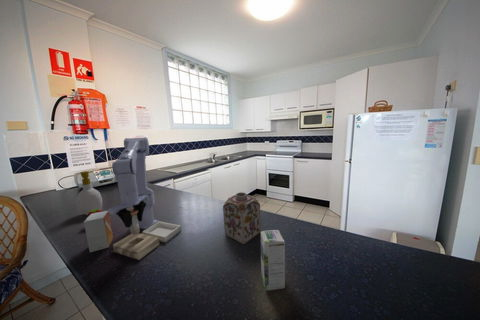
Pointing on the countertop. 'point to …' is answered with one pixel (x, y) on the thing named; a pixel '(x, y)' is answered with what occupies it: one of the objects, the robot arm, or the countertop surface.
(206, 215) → the countertop surface
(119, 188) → the robot arm
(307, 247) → the countertop surface
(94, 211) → the strawberry
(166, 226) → the tray
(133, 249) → the hitch block
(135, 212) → the pin
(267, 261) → the syrup box
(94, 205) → the soap bottle
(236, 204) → the decorative jar
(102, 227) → the small box
